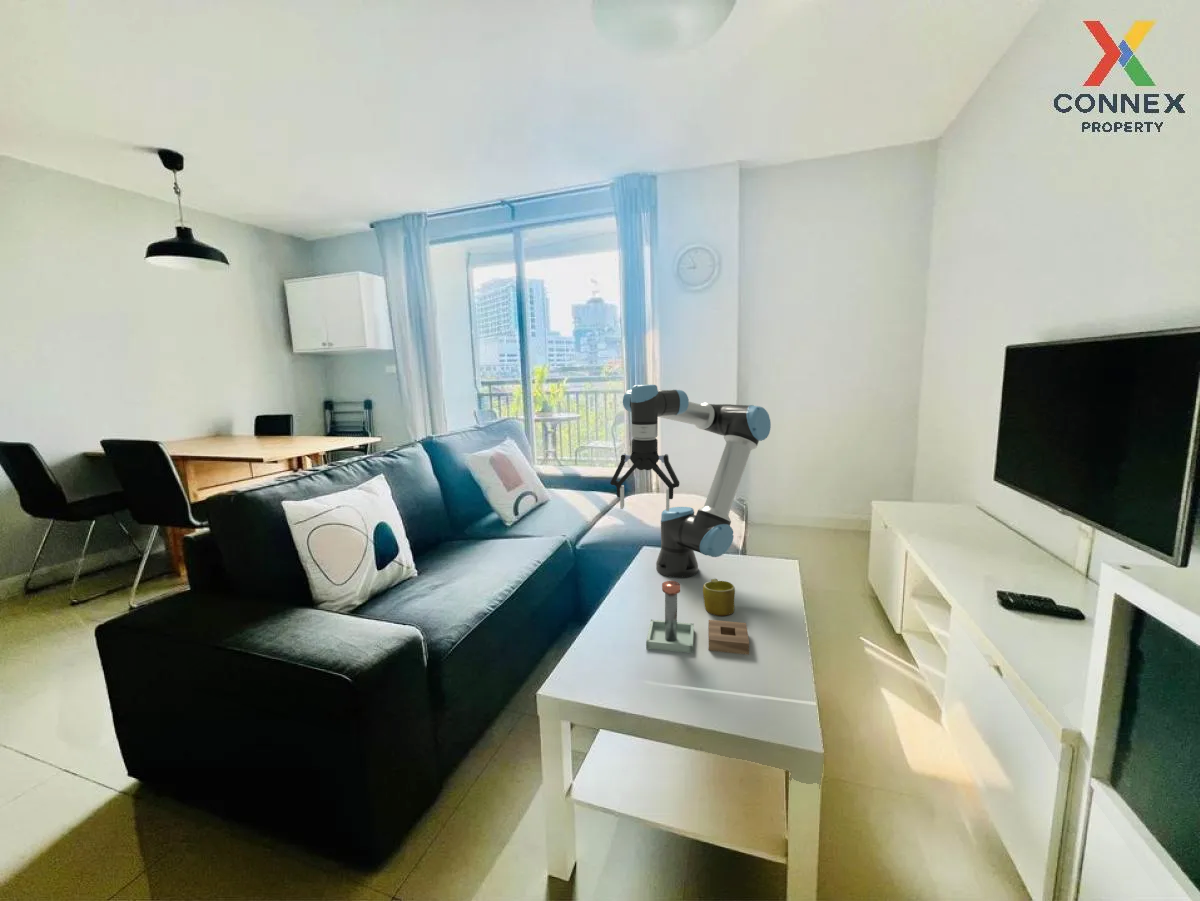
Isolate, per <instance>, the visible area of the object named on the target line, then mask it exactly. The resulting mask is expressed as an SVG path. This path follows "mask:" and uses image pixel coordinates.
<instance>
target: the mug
mask: <svg viewBox="0 0 1200 901" xmlns="http://www.w3.org/2000/svg"><path fill="white" fill-rule="evenodd" d="M702 594H703V601H704V602H703V603H704V608H705V610H706V612H707V613H708V614H710V615H713V616H717V617H726V616H730V615H732V614H734V612H735V594H736V587H735V585H734V584H733V583H731V582H729V581H726V580H719V579H717V578H712V579H711V581H707V582H705V583H703V586H702Z"/></svg>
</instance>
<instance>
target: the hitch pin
mask: <svg viewBox="0 0 1200 901" xmlns="http://www.w3.org/2000/svg"><path fill="white" fill-rule="evenodd" d="M661 591H662V592H663V593H664V621H665V639H666V640H667V641H670V642H673V641H676V640H677V622H678V594H679V593H680V592H681V584H680V582H678V581H675V580H666V581H664V582H662V584H661Z"/></svg>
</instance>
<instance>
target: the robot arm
mask: <svg viewBox="0 0 1200 901" xmlns="http://www.w3.org/2000/svg"><path fill="white" fill-rule="evenodd" d="M622 406H623V408H624V409H625V410H626V411H628V412H629V413H631V414H630V415H631V438H632V439H631V454H627V453H625V452H624V453H622V454H621V456H620V462H619V464H618V466H617V468H616V471H615V472H614V474H613V476H612V478H611V480H610V485H611V486H615V487H616V497H617V498H619V499H620V501H619V504H620V506H619V508H620V510H623V509H624V508H625V485H624V482H626V480H627V479H628V478H629V476H630V475H631V474H632V473H633V472H634V471H635V470H636V469H637V470H638V471H643V470H645V471H651V470H652V471H653V472H654V473H655V474H656V475H657V476H658V477H659V478H660V479H661V480H662V481H663V483H664V484H665V485H666V489H665V509H664V510H662V512H661V516H660V550H659V553H658V557H657V559H656V563H655V564H656V565H655V566H656V571H657V572H658V573H659V574H661V575H662V576H666V577H668V578H677V579H679V578H680V579H682V578H690V577H692V576H695V575H697V573H698V572H699V563H698V560H697V558H696V554H695V552H697V553H700V554H701V555H704V556H709V557H712V558H719V557H721V556H723V555H724V554H726V553H727V552H728V551H729V549H730V547H731V546H732V544H733V541H734V529H733V528H732V526H731V523H732V520H731V518H730V517H729V516H730V511H731V509H732V507H733V503H734V501H735V497H736V494H737V491H738V489H739V486H740V482H741V480H742V477H743V475H744V471H745V468H746V465H747V463H748V459H749V457H750V454H751V451H753V450H754V449H756V448H757V447H758V445H759V442H761V441H765V440H766V439H767V438H768V437H769V435H770V432H771V428H772V427H771V418H770V414H769V412H768V411H767V410H766V409H765V408H764V407H763V406H759V405H753V404H749V405H747V404H746V405H745V404H728V403H727V404H725V403H723V404H715V403H713V404H712V403H707V402H703V403H696V402H692V401H689V396H688V394H687V393H686V392H685V391H684V390H682V389H658V385H656V384H635V385H633V386H632V387H631V389H628V390H626V392H625V393H624V395H623V396H622ZM659 418H663V419H666V420H671V421H676V422H680V423H685V424H690V425H694V426H695V427H696V428H697V429H699V430H703V431H707V432H710V433H713V434H717V435H718V436H723V438H724V440H725V447H724V448H723V451H722V454H721V458H720V459H719V462H718V466H717V467H716V468H717V469H716V470H715V474H714V477H713V480H712V482H711V485H710V488H709V492H708V494H707V497H706V500H705V503H704V506H702V507H701V508H698V509H697V512H696V514H695V510H694V508H693V507H690V506H675V507H674V506H673V507H670V500H673V498H674V489H675V488H679V486H680V480H679V479H678V477H677V474H676V472H675V471H674V468H673V466H672V465H671V462H670V460H669V459H670V458H669V454H667V453H666V454H664V455H663V454H662V455H659V453H658V443H659V442H658V439H657V437H658V435H659V434H658V420H659ZM629 460H630V461H631V463H632V465H631V467H630V468H629V469H628V470H627V472H626V473H624V475H623V476H622V477H621V478H620V480H619V481H618V478H619V477H620V474H621V472H622V470H623V468H624V466H625V463H627V462H628V461H629ZM659 461H661V463H663V464H664V466H665V469H666V471H667V472H668V475H669V476H670V478H671V480H670V479H669V477H668V476H667V475H666V474H665V473H664V471H663V470H662V469H661V468H660V466H659V465H658V464H657V463H658V462H659Z"/></svg>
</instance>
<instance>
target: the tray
mask: <svg viewBox="0 0 1200 901" xmlns="http://www.w3.org/2000/svg"><path fill="white" fill-rule="evenodd" d="M694 630H695V623H691V622H690V623H689V622H681V621H680V622H679V621H677V640H676V641H673V642H670V641H667V640H666V639H665V620H659V619H657V620H656V619H650V622H649V627H648V632H647V636H646V640H645V641H646V642H645V648H646V650H647V651H650V650H652V649H653V650H660V651H671V652H676V653H677V652H678V653H688V654H693V653H694V634H695V633H694V632H695V631H694Z"/></svg>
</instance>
